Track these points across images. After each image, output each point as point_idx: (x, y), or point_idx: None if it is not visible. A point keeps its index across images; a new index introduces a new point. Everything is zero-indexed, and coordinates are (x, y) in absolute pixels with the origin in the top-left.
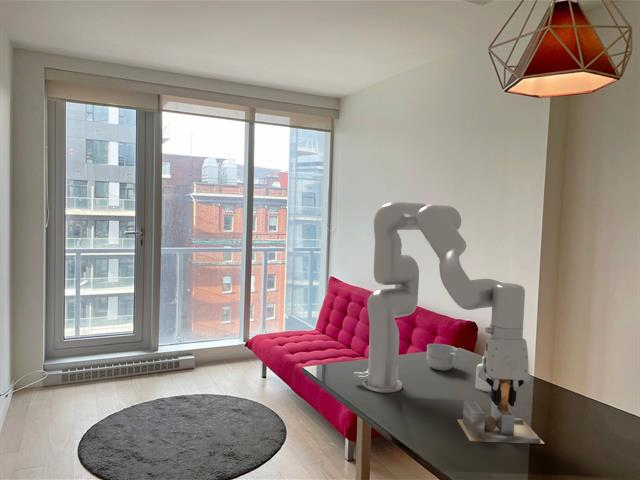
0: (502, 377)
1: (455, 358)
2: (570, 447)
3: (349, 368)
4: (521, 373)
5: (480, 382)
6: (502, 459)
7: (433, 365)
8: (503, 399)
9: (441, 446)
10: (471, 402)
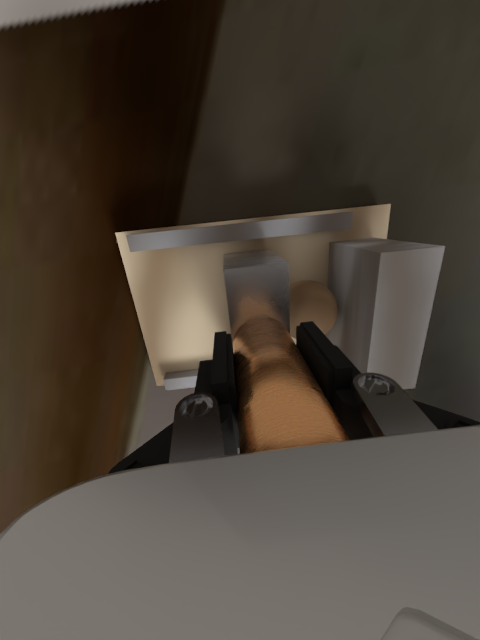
0: (443, 449)
1: None
2: (31, 266)
3: None
4: (70, 614)
5: None
6: (293, 118)
7: None
8: (281, 343)
9: (473, 190)
10: (389, 374)
